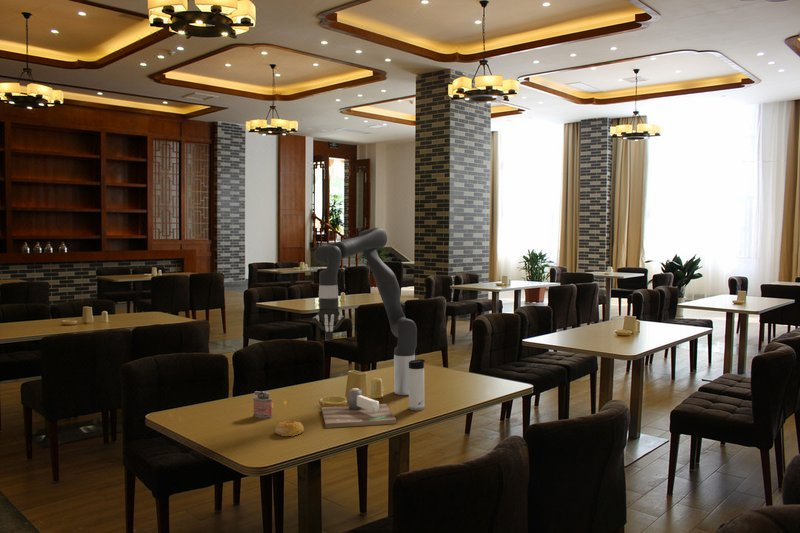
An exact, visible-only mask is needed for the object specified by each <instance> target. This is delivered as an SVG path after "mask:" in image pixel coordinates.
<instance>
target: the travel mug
mask: <svg viewBox="0 0 800 533" xmlns="http://www.w3.org/2000/svg"><path fill="white" fill-rule="evenodd" d="M425 362H426V360H425V358H423V359H415V360H412V361H410V362H409V395H408V409H409V410H411V411H422V410H424V409H425Z"/></svg>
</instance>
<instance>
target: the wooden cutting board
mask: <svg viewBox="0 0 800 533" xmlns="http://www.w3.org/2000/svg"><path fill="white" fill-rule="evenodd" d="M321 414H322V418H323V421H324V425H325V428H326V429H330V428H346V427H361V426H376V425H377V426H378V425H392V424H393V425H394V424H397V419H396V417H395V415H394V414H393V412H392V411H391V409H390V408H389V407H388V405H387V403H379V412H378V413H373V412H371V411H369V410H366V409H364V408H361V409H358V410H352V409H349V405H341V406H340V405H339V406H323V407H321Z"/></svg>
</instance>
